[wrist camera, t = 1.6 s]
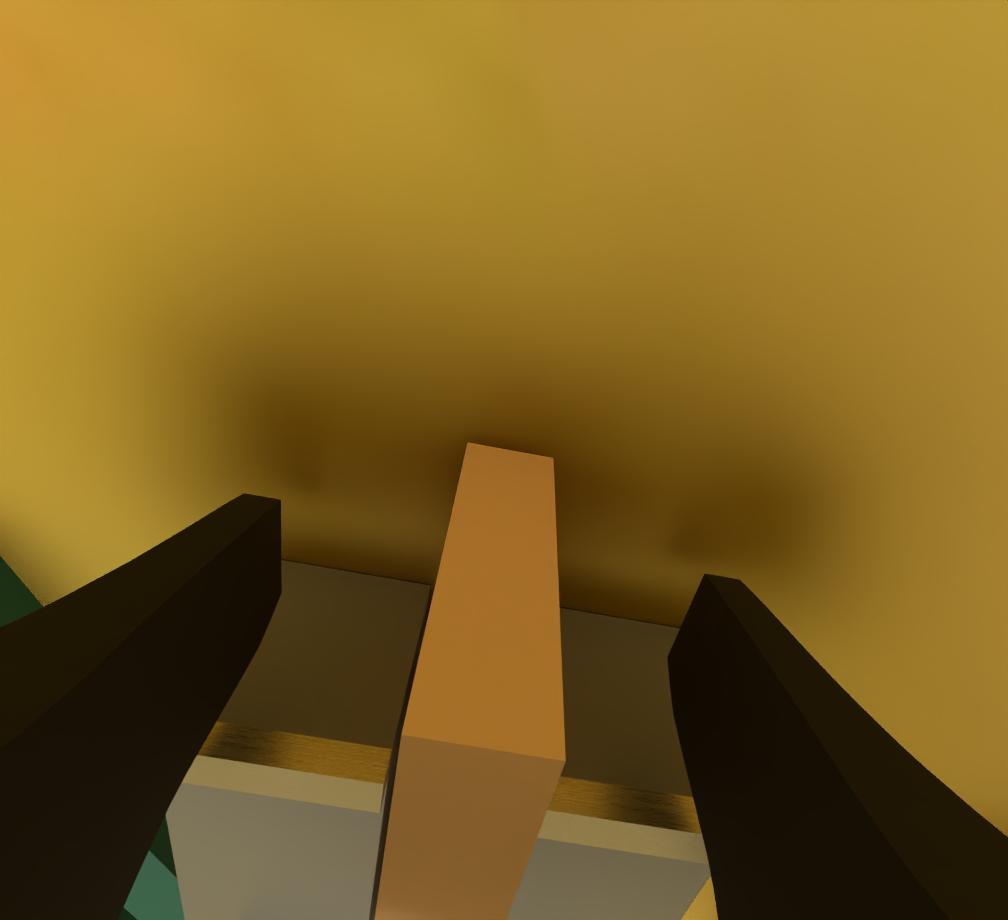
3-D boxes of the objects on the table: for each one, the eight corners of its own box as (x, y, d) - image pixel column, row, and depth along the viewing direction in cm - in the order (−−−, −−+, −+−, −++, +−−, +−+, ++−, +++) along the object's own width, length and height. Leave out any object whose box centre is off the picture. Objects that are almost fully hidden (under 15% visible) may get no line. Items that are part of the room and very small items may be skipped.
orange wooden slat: (467, 442, 11) (402, 735, 6) (553, 458, 11) (565, 760, 6) (412, 770, 16) (350, 1088, 11) (472, 779, 16) (439, 1100, 11)
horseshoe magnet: (250, 554, 13) (59, 839, 8) (701, 631, 14) (801, 950, 8) (263, 863, 20) (162, 1133, 14) (569, 909, 20) (579, 1187, 15)
